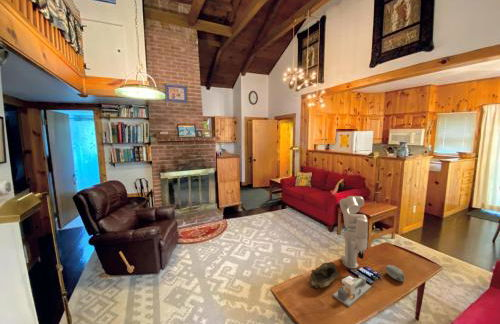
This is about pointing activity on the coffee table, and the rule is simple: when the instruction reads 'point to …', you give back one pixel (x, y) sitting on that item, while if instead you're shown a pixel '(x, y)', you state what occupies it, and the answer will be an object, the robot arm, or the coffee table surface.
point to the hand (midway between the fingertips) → (360, 257)
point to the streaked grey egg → (395, 273)
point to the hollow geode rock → (323, 275)
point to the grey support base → (359, 292)
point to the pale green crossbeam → (355, 285)
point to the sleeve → (350, 286)
